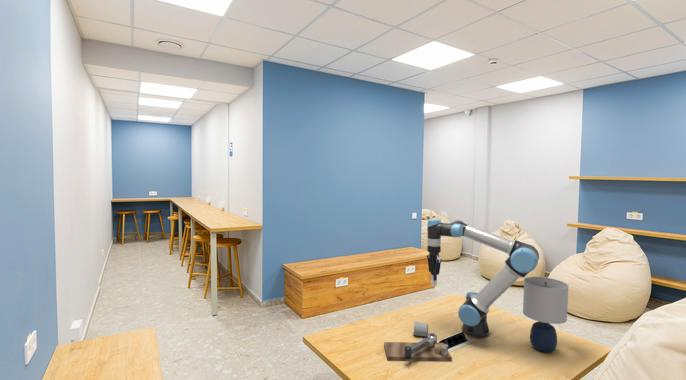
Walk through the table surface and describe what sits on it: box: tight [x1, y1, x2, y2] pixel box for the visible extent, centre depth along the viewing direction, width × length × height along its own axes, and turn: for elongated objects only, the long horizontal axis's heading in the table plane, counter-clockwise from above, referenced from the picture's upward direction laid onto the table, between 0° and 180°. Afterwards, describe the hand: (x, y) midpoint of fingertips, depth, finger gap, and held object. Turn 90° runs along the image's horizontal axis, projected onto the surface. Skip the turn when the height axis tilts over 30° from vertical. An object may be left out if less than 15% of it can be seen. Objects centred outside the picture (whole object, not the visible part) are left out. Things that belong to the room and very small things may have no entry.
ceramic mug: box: [413, 320, 429, 338], centre depth 205 cm, size 11×8×8 cm
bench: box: [383, 341, 453, 362], centre depth 183 cm, size 32×15×6 cm, turn 90°
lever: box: [404, 332, 438, 359], centre depth 180 cm, size 26×5×5 cm, turn 134°
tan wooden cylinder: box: [435, 344, 442, 354], centre depth 180 cm, size 4×4×4 cm
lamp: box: [522, 276, 569, 353], centre depth 188 cm, size 20×20×37 cm
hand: (433, 285), depth 207 cm, fingers closed
